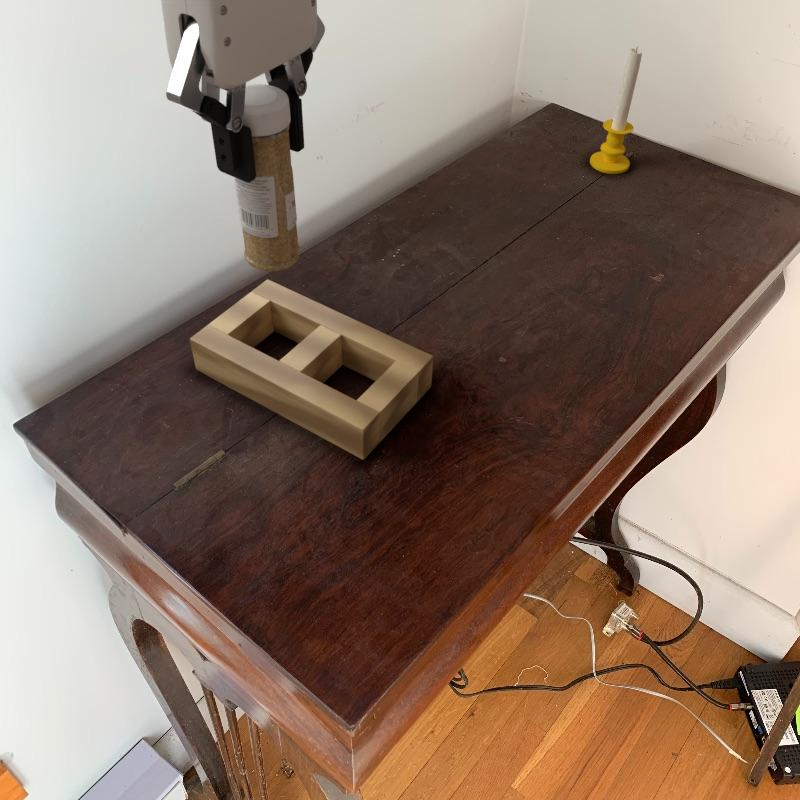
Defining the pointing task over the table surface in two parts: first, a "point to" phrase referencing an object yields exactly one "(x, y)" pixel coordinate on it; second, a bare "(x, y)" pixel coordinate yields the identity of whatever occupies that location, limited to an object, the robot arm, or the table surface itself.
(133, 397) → the table surface
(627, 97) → the candle
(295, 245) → the sprinkles bottle
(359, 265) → the table surface
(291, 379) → the holder
